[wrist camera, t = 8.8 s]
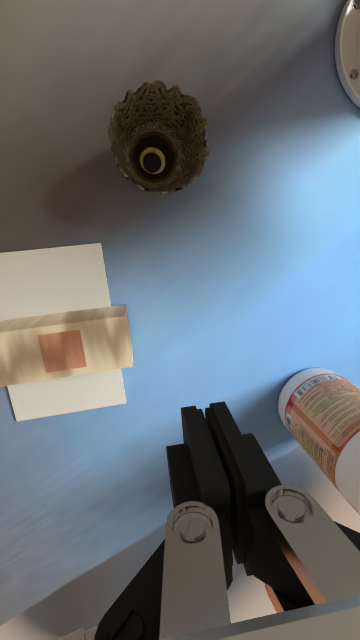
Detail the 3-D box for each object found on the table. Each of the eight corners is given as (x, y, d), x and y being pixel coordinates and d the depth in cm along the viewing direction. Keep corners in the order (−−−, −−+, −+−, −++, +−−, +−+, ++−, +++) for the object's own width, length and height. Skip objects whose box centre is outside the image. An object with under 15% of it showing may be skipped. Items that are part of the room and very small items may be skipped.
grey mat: (-27, 255, 30) (-29, 255, 30) (101, 242, 32) (100, 242, 31) (17, 419, 35) (16, 421, 35) (126, 401, 37) (126, 403, 36)
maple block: (125, 304, 33) (6, 319, 32) (125, 316, 29) (-16, 334, 27) (132, 348, 35) (17, 365, 33) (133, 366, 30) (-1, 387, 28)
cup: (108, 120, 29) (102, 79, 22) (186, 118, 30) (207, 78, 23) (118, 205, 31) (115, 196, 24) (191, 201, 32) (211, 190, 25)
